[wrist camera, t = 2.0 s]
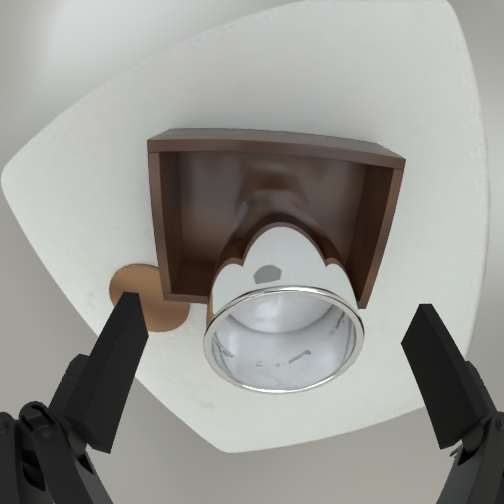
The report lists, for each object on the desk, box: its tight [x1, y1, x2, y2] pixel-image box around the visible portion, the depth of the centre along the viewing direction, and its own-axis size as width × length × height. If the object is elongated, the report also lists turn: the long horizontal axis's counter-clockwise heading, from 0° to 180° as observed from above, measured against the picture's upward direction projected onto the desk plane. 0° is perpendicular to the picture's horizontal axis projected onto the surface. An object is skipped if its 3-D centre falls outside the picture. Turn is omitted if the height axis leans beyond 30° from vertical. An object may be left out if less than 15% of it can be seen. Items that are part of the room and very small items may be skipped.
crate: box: [147, 128, 406, 309], centre depth 22 cm, size 13×17×5 cm
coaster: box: [109, 264, 189, 332], centre depth 30 cm, size 9×9×1 cm
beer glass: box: [203, 173, 364, 394], centre depth 18 cm, size 7×7×15 cm
